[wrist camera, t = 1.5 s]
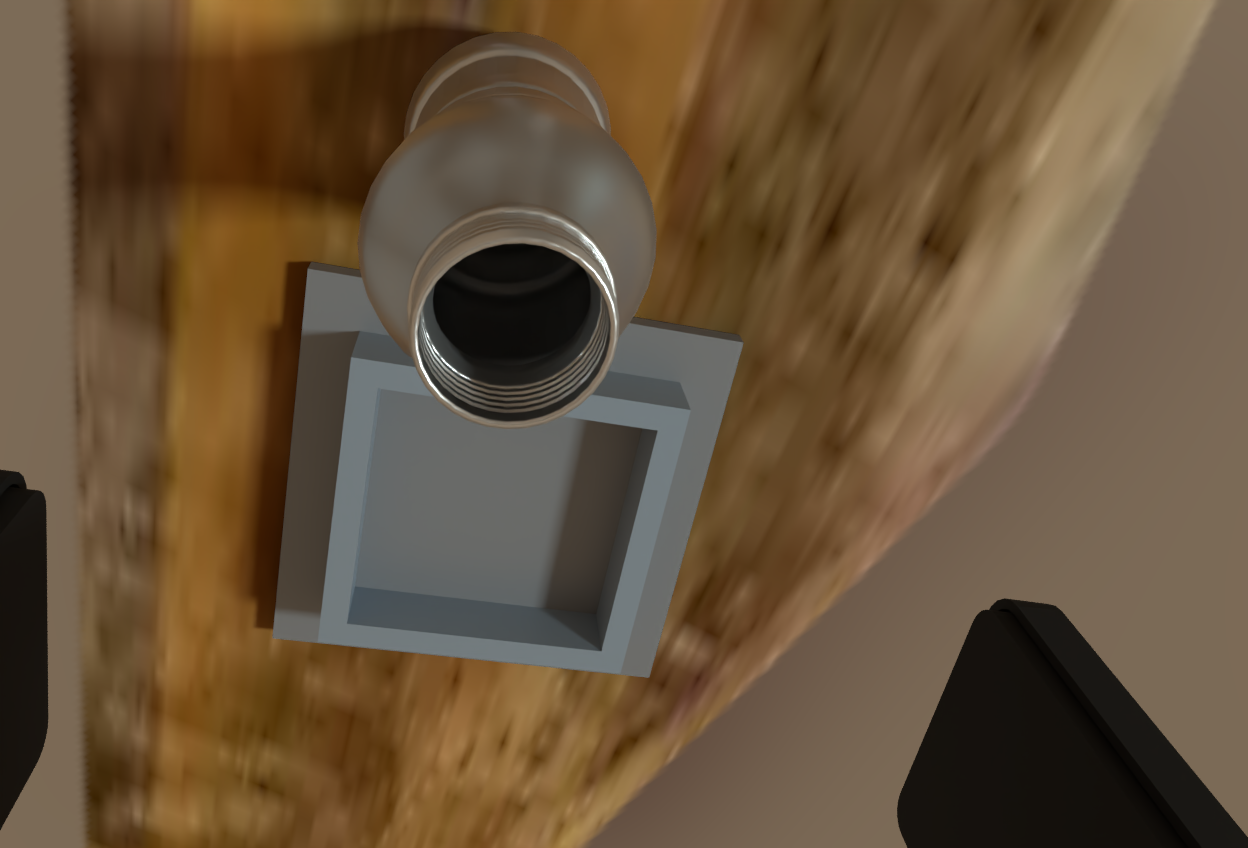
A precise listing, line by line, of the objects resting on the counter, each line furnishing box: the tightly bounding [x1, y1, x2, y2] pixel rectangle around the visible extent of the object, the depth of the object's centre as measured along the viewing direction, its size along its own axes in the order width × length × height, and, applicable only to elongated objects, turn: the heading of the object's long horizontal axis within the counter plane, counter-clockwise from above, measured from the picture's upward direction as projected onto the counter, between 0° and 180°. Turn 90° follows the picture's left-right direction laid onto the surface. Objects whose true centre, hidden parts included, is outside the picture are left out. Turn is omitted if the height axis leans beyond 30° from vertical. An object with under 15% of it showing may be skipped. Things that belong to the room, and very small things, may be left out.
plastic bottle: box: [358, 32, 656, 429], centre depth 27 cm, size 6×7×20 cm
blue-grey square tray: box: [273, 262, 743, 678], centre depth 41 cm, size 16×16×3 cm
